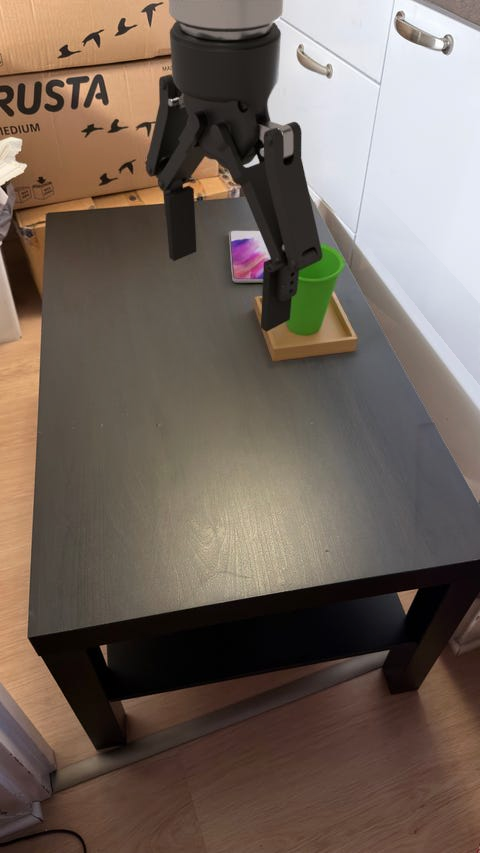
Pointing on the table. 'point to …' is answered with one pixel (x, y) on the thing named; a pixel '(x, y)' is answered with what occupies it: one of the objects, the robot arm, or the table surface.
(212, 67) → the robot arm
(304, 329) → the cup
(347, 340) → the square wooden tray
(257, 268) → the smartphone
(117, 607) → the table surface
